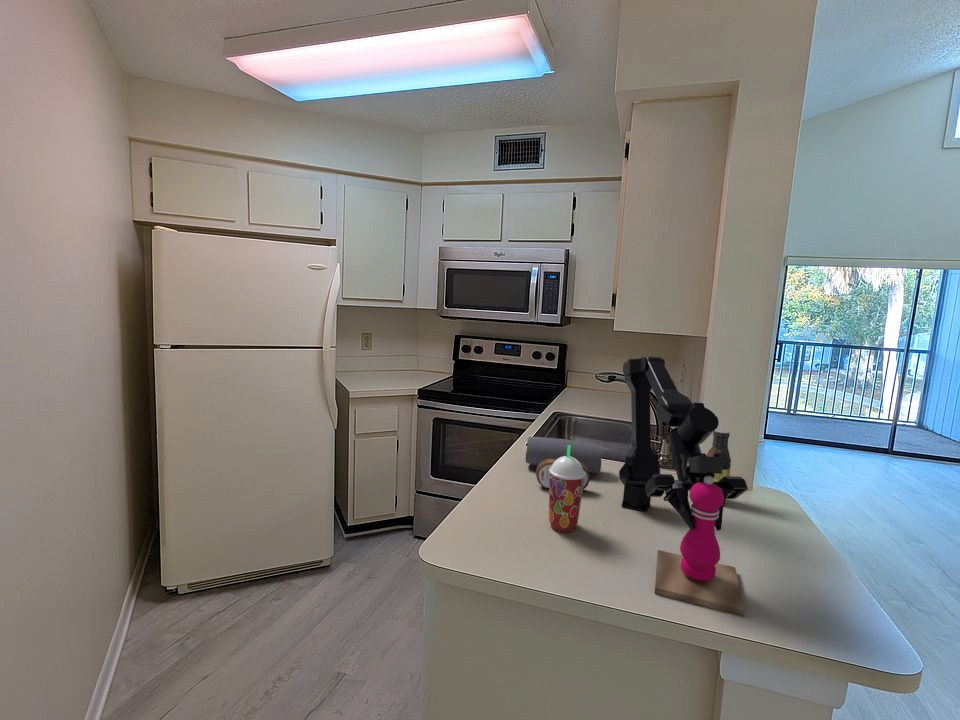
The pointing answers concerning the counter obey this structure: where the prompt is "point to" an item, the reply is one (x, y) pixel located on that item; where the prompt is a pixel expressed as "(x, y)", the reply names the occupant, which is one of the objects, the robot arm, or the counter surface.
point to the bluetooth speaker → (563, 451)
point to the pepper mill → (702, 532)
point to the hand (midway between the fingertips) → (706, 529)
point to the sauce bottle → (720, 450)
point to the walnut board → (698, 585)
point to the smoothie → (565, 492)
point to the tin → (543, 473)
